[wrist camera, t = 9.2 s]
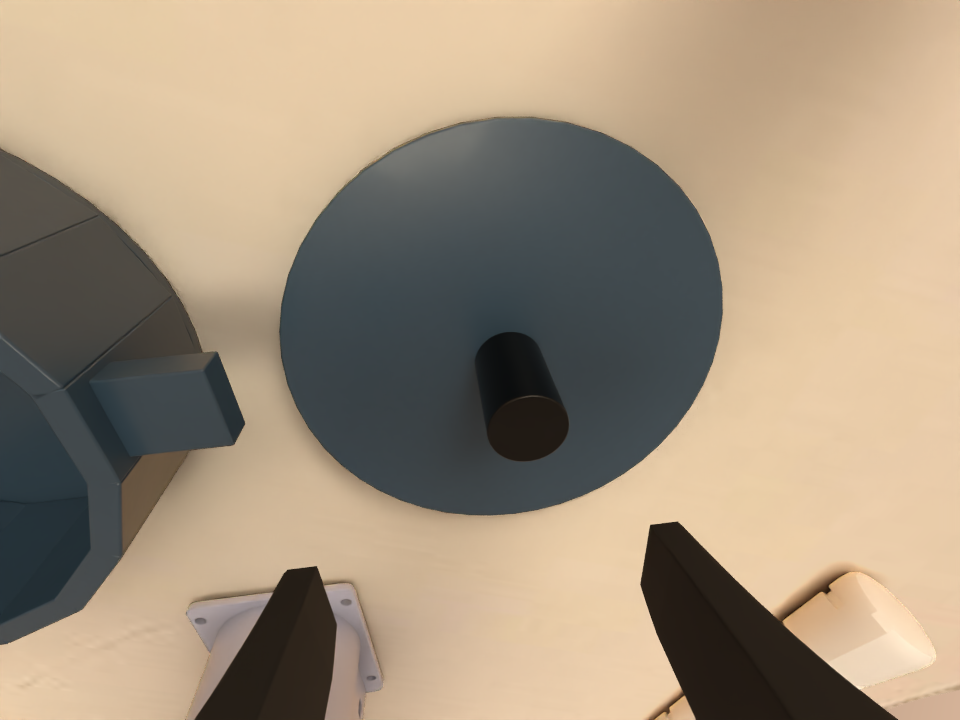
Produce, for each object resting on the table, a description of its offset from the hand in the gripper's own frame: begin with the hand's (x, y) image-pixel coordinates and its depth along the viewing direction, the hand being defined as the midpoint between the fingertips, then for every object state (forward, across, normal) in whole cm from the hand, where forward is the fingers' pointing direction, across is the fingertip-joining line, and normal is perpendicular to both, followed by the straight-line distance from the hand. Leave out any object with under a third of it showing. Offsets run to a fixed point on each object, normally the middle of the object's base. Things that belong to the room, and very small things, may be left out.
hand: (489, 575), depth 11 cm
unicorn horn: (+9, -16, +25) cm, 31 cm away
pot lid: (+8, -2, -1) cm, 9 cm away
